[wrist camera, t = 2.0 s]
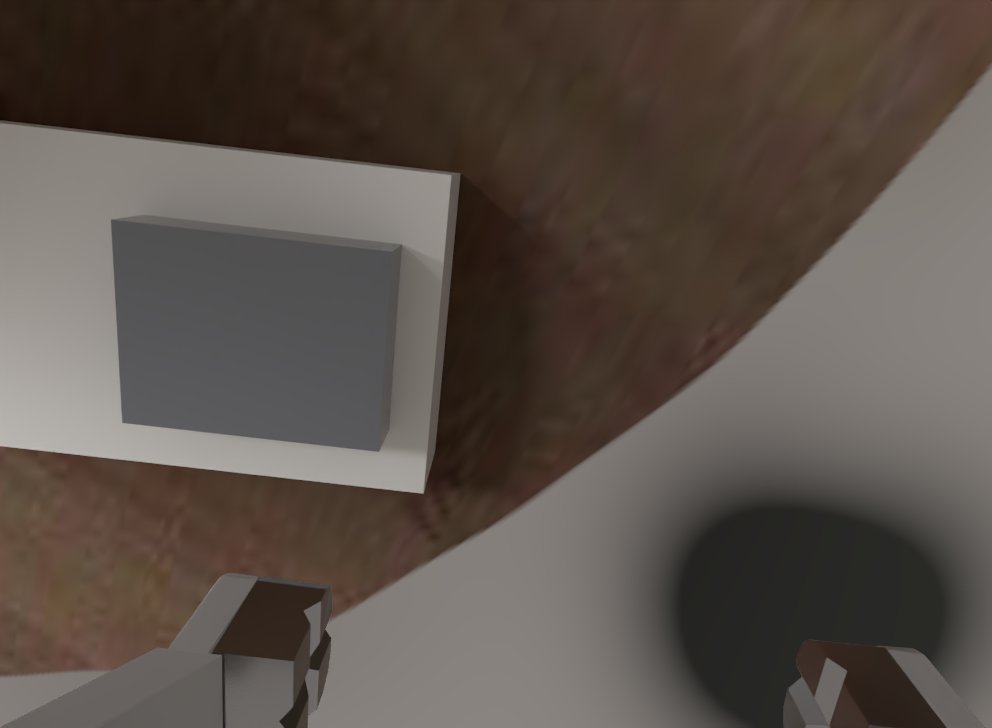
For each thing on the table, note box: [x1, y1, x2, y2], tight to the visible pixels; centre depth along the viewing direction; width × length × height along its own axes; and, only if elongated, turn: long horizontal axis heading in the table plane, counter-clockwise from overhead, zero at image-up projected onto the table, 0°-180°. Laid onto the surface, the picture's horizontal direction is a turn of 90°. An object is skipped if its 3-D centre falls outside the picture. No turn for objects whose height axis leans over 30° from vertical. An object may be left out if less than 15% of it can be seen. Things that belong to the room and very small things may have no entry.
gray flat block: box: [111, 215, 402, 452], centre depth 23 cm, size 9×7×2 cm
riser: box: [0, 120, 461, 494], centre depth 26 cm, size 18×12×4 cm, turn 84°
